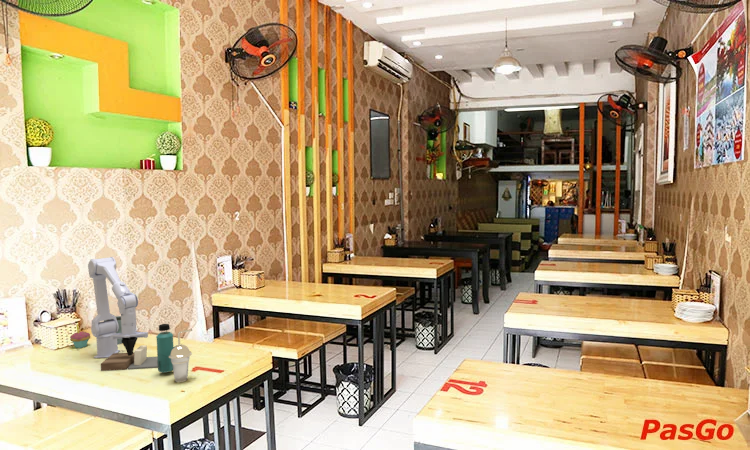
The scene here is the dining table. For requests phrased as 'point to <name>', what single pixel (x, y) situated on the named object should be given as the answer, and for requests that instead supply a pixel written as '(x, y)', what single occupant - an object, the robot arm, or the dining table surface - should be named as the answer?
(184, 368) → the cup with straw
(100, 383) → the dining table surface
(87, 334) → the cupcake
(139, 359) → the tile
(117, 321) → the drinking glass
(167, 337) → the beverage bottle
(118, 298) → the robot arm
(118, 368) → the board
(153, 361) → the mat
